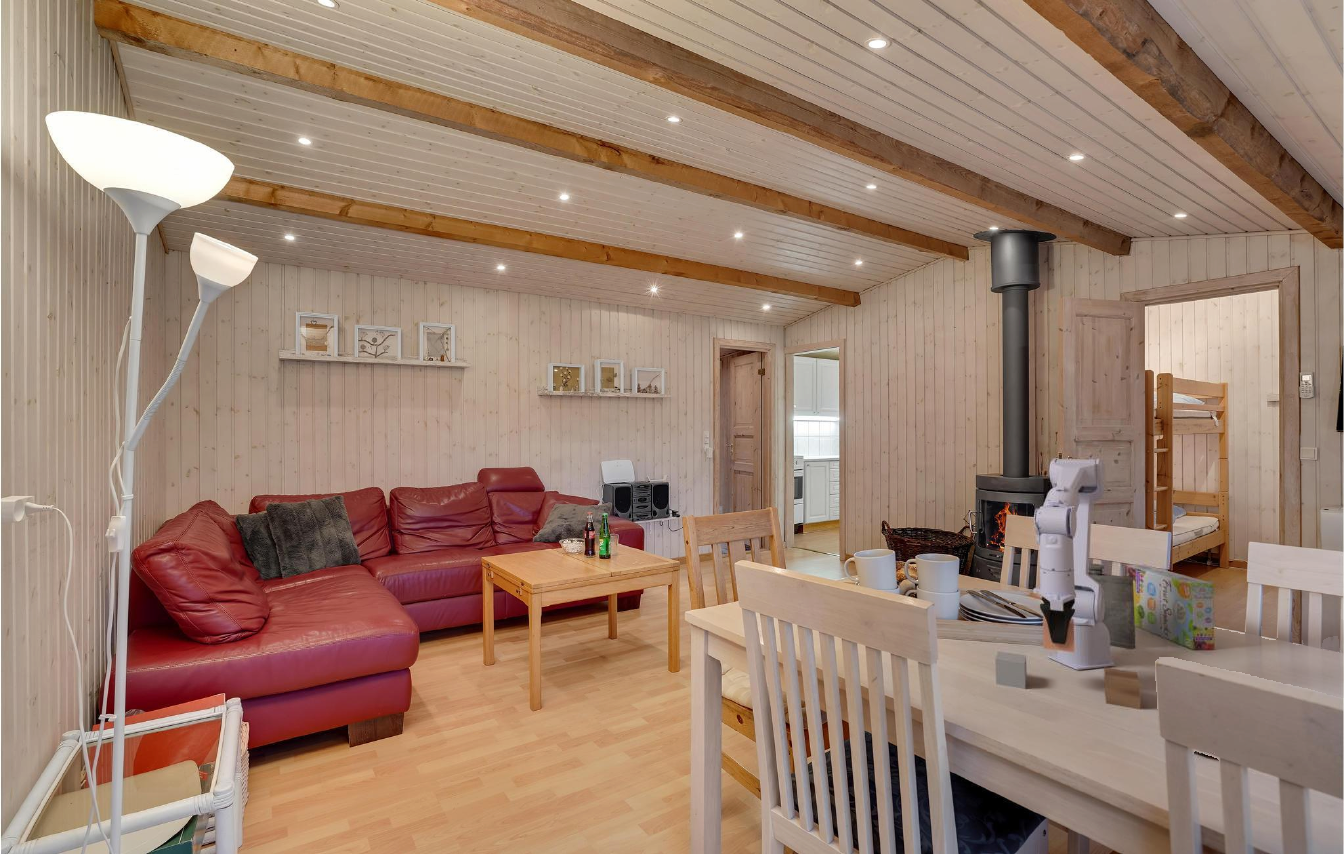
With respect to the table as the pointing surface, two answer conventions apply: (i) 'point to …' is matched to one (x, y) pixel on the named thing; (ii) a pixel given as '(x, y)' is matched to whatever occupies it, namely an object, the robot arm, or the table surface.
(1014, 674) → the slate block
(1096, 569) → the dark grey slab
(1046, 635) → the terracotta block
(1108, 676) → the walnut block
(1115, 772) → the table surface
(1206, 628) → the snack box
